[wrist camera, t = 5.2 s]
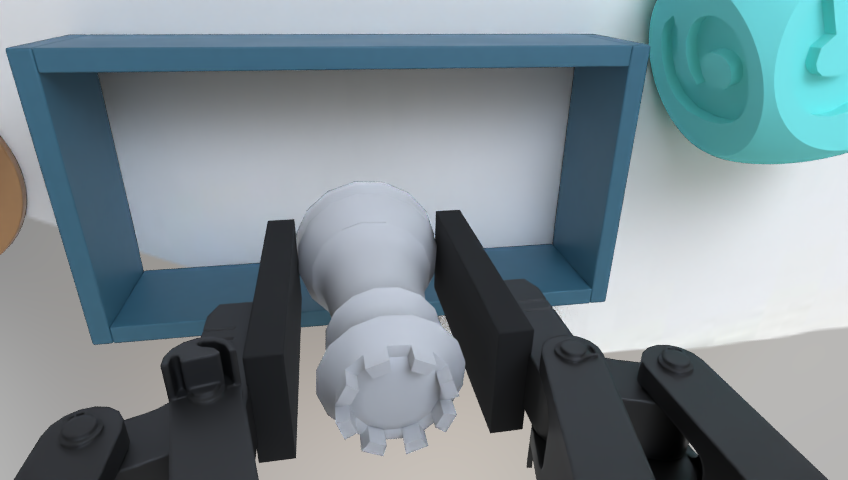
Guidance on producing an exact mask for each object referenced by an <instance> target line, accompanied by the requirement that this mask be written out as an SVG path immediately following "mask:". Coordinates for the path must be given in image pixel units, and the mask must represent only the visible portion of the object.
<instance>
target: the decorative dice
mask: <svg viewBox="0 0 848 480" xmlns="http://www.w3.org/2000/svg"><path fill="white" fill-rule="evenodd" d="M649 45H650V53H649V54H650V62H651V68H652V73H653V77H654V80H655V84H656V87H657V90H658V93H659V95H660V98H661V100H662V102H663V105H664V107H665V109H666V111H667V112H668V114H669V116H670V118H671V119H672V121H673V122H674V124H675V125H676V126H677V128H678V129H679V130H680V132H681V133H682V134H683V135H684V136H685V137H686V138H687V139H688V140H689V141H690V142H691V143H692V144H694V145H695V146H696V147H698V148H699V149H701V150H702V151H704V152H706V153H708V154H710V155H712V156H715V157H718V158H721V159H724V160H729V161H734V162H741V163H751V164H785V163H797V162H805V161H812V160H818V159H824V158H828V157H833V156H837V155H841V154H844V153H848V0H657V1H656V4H655V6H654V9H653V12H652V16H651V21H650V28H649Z"/></svg>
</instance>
